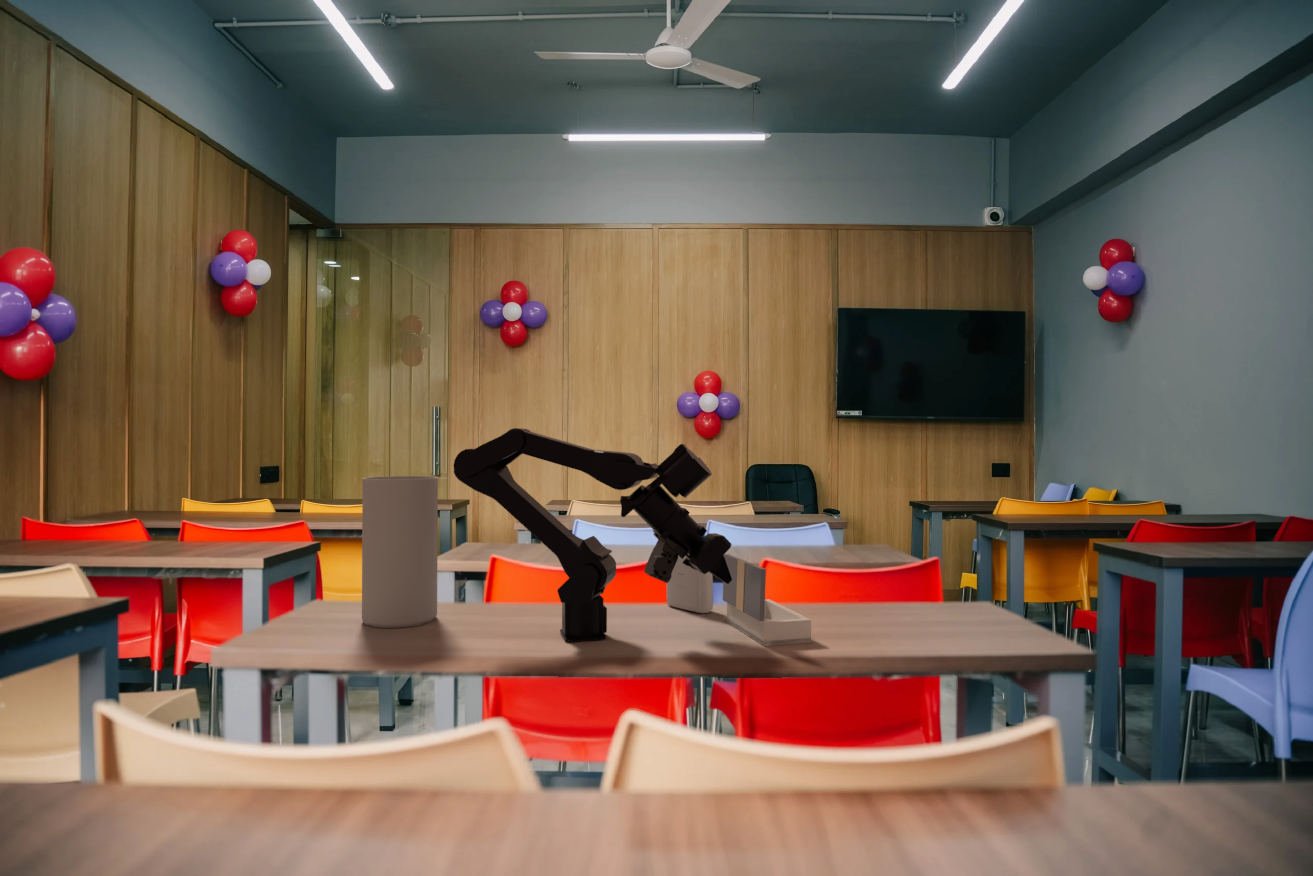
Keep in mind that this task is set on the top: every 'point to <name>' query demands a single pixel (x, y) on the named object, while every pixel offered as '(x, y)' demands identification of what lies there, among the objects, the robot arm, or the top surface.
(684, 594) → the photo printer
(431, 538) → the cylinder vase
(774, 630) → the storage box
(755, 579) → the flap lid
